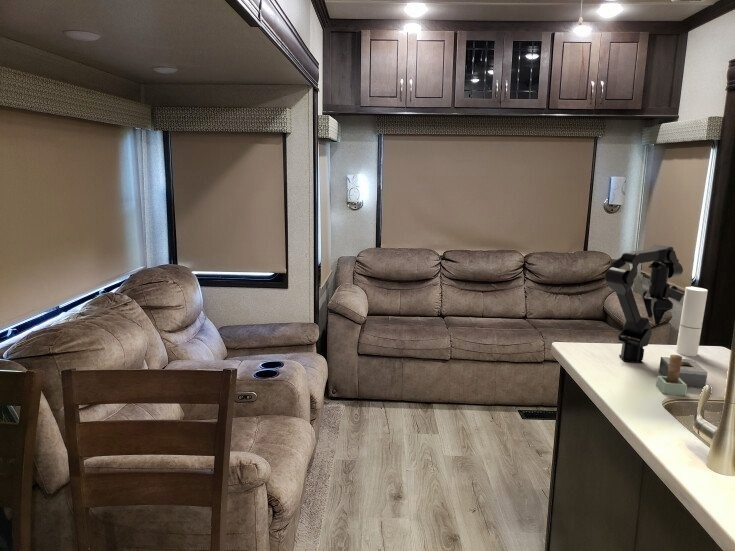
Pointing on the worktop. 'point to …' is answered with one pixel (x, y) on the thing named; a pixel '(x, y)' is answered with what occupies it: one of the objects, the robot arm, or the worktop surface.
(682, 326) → the cylindrical container
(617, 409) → the worktop surface
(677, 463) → the worktop surface
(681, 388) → the holder cup
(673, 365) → the brown rod
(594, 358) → the worktop surface
